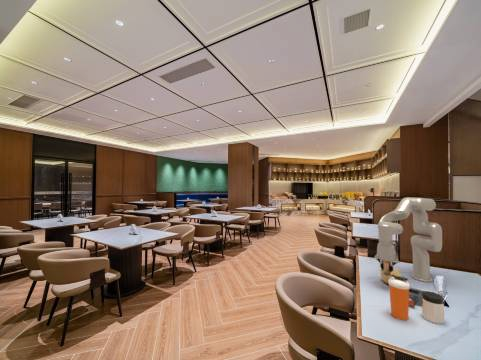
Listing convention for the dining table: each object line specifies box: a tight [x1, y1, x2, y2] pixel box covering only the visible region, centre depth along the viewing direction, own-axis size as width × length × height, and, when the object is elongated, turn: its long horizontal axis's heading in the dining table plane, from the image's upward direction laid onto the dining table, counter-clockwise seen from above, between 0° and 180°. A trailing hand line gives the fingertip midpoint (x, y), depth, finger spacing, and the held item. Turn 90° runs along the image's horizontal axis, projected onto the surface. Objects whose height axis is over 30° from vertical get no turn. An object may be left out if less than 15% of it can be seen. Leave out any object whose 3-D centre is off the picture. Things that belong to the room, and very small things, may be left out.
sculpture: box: [380, 267, 403, 284], centre depth 146 cm, size 11×12×11 cm
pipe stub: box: [382, 260, 391, 276], centre depth 137 cm, size 5×5×10 cm
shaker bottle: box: [387, 274, 411, 321], centre depth 108 cm, size 9×9×20 cm
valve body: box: [409, 286, 424, 309], centre depth 122 cm, size 17×11×6 cm, turn 133°
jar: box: [421, 290, 445, 325], centre depth 106 cm, size 9×8×12 cm
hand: (386, 270), depth 137 cm, fingers closed on pipe stub, 4 cm apart
